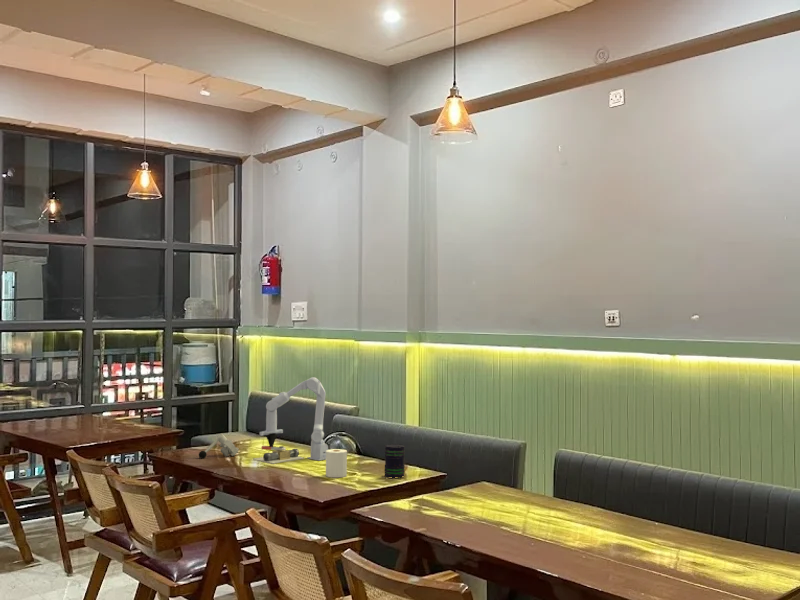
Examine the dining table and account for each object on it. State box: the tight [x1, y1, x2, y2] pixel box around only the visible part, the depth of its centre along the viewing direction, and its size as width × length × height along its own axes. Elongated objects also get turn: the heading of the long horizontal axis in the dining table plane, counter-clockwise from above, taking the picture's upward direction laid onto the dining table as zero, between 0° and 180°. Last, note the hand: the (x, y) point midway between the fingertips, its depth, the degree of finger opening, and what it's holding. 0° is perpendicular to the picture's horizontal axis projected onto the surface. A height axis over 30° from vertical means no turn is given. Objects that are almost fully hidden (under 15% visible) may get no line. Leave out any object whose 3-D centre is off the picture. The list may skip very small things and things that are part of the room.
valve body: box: [262, 448, 300, 461], centre depth 413 cm, size 6×21×5 cm, turn 138°
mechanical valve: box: [198, 433, 240, 459], centre depth 419 cm, size 10×18×15 cm
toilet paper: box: [325, 448, 348, 478], centre depth 374 cm, size 10×10×12 cm
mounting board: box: [252, 455, 305, 465], centre depth 415 cm, size 16×22×1 cm
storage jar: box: [383, 443, 406, 479], centre depth 374 cm, size 10×10×15 cm
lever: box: [261, 445, 287, 451], centre depth 415 cm, size 14×4×2 cm, turn 69°
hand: (271, 447), depth 418 cm, fingers closed, pressing on lever
